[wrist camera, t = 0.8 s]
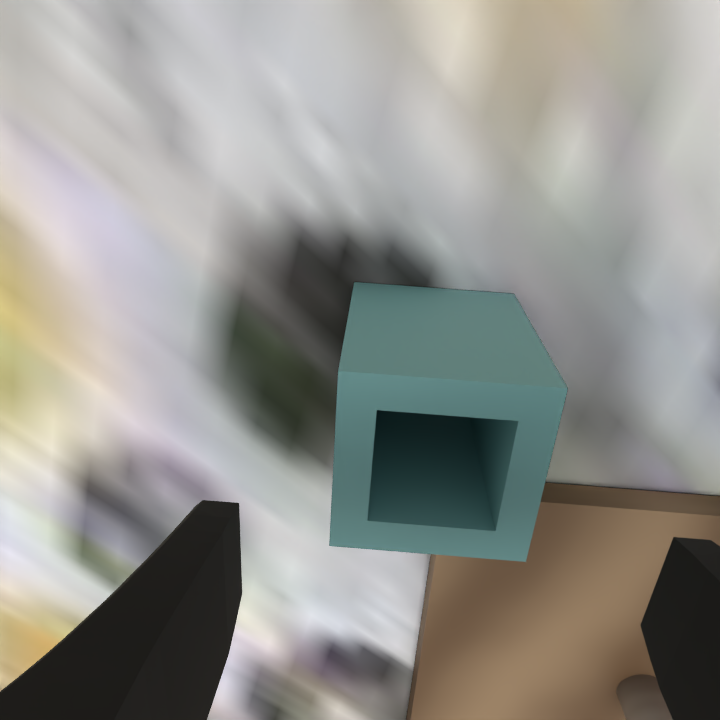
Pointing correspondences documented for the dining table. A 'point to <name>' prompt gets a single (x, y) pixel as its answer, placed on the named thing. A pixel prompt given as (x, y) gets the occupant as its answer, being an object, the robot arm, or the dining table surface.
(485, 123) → the dining table surface
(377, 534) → the teal square sleeve
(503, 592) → the shaft base
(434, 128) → the dining table surface
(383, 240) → the dining table surface
